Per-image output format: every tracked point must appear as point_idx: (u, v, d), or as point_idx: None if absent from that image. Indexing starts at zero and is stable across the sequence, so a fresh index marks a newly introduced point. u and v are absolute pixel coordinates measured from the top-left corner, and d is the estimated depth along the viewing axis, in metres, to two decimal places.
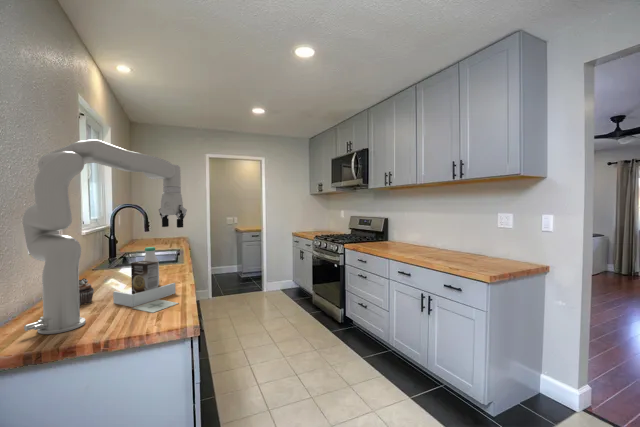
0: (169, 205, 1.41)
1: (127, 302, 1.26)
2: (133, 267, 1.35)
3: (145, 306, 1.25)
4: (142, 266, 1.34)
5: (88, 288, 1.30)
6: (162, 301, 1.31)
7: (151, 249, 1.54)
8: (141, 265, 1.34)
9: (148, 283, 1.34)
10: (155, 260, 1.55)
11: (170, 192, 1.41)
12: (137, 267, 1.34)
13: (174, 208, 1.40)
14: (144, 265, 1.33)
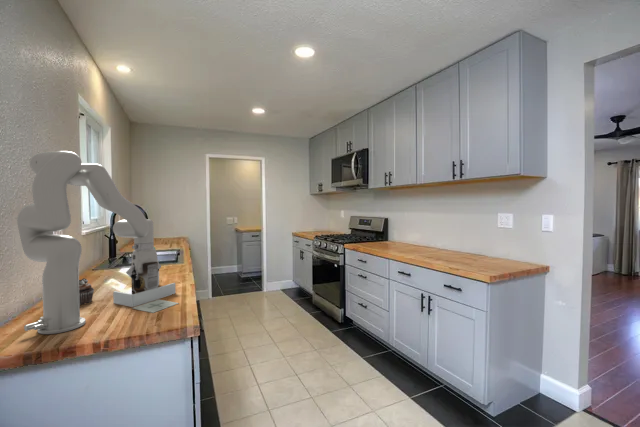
0: (151, 261, 1.37)
1: (127, 302, 1.26)
2: None
3: (145, 306, 1.25)
4: None
5: (88, 288, 1.30)
6: (162, 301, 1.31)
7: None
8: None
9: (148, 283, 1.34)
10: None
11: (153, 248, 1.38)
12: None
13: None
14: (144, 265, 1.33)
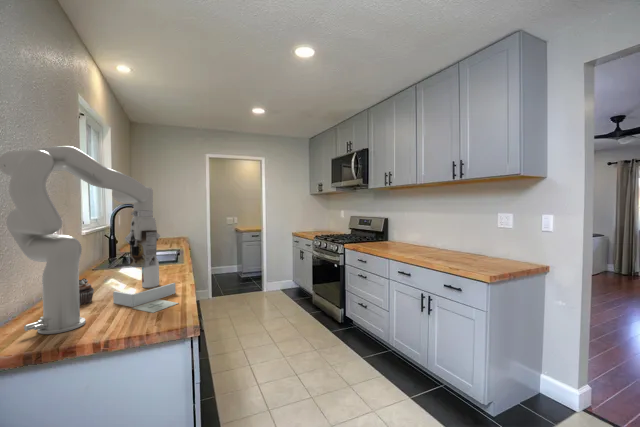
0: (150, 229, 1.37)
1: (127, 302, 1.26)
2: None
3: (145, 306, 1.25)
4: None
5: (88, 288, 1.30)
6: (162, 301, 1.31)
7: None
8: None
9: (146, 250, 1.33)
10: None
11: (152, 216, 1.37)
12: None
13: None
14: (143, 232, 1.33)
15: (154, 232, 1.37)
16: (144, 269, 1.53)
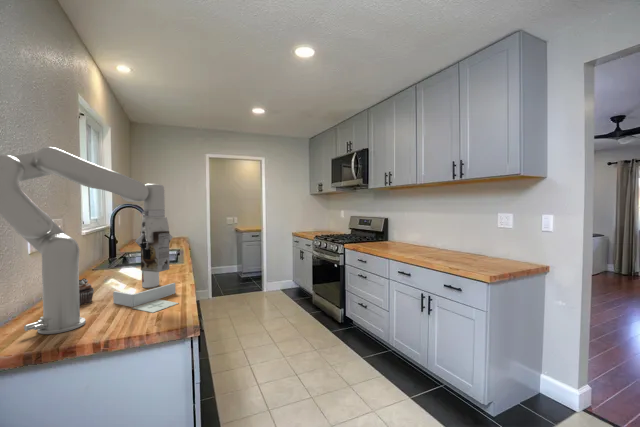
0: (162, 230, 1.25)
1: (127, 302, 1.26)
2: None
3: (145, 306, 1.25)
4: None
5: (88, 288, 1.30)
6: (162, 301, 1.31)
7: None
8: None
9: (159, 253, 1.22)
10: None
11: (164, 216, 1.26)
12: None
13: None
14: (155, 233, 1.21)
15: (167, 233, 1.25)
16: None
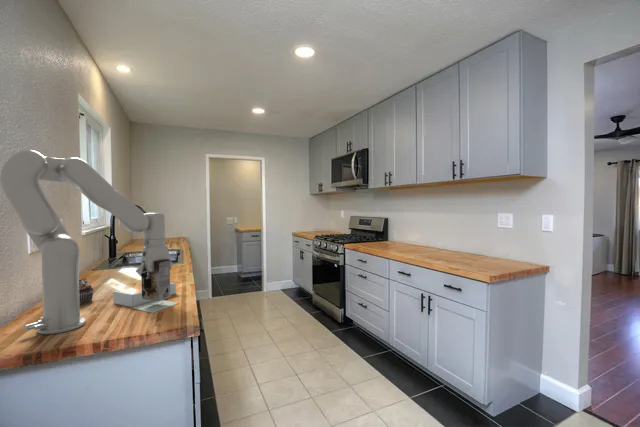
0: (163, 259, 1.26)
1: (127, 302, 1.26)
2: None
3: (145, 306, 1.25)
4: None
5: (88, 288, 1.30)
6: (162, 301, 1.31)
7: None
8: None
9: (160, 282, 1.22)
10: None
11: None
12: None
13: None
14: (155, 263, 1.22)
15: (167, 261, 1.26)
16: None
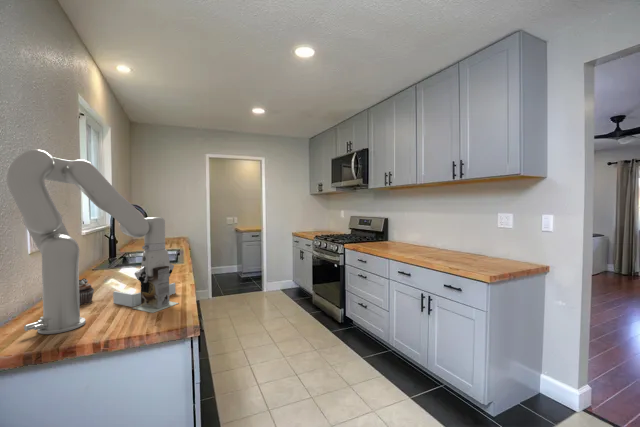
0: (163, 263, 1.26)
1: (127, 302, 1.26)
2: None
3: None
4: None
5: (88, 288, 1.30)
6: None
7: None
8: None
9: (159, 290, 1.22)
10: None
11: None
12: None
13: (169, 265, 1.28)
14: (154, 270, 1.21)
15: (166, 268, 1.25)
16: None
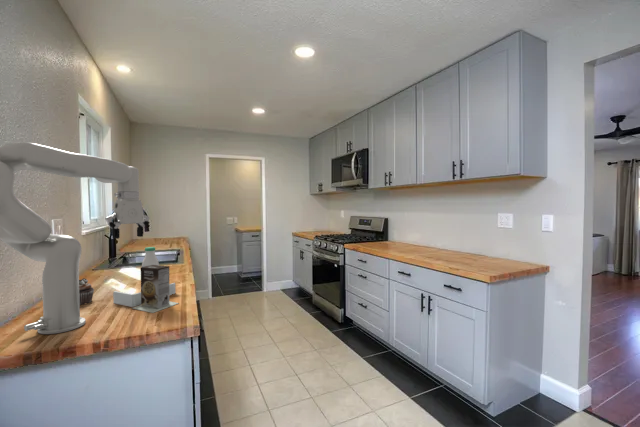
0: (136, 212, 1.27)
1: (127, 302, 1.26)
2: (142, 272, 1.23)
3: None
4: (152, 271, 1.22)
5: (88, 288, 1.30)
6: None
7: (151, 249, 1.54)
8: (151, 270, 1.22)
9: (159, 290, 1.22)
10: (155, 260, 1.55)
11: (138, 198, 1.28)
12: (147, 272, 1.23)
13: (142, 216, 1.30)
14: (155, 270, 1.21)
15: (166, 269, 1.26)
16: None
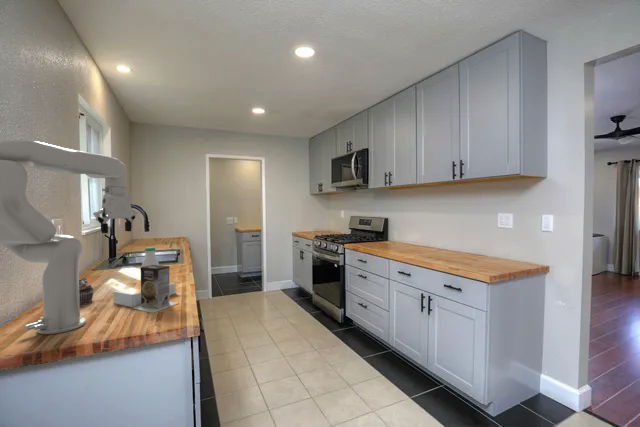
0: (124, 207, 1.29)
1: (127, 302, 1.26)
2: (142, 272, 1.23)
3: None
4: (152, 271, 1.22)
5: (88, 288, 1.30)
6: None
7: (151, 249, 1.54)
8: (151, 270, 1.22)
9: (159, 290, 1.22)
10: (155, 260, 1.55)
11: (126, 193, 1.29)
12: (147, 272, 1.23)
13: (130, 210, 1.31)
14: (155, 270, 1.21)
15: (166, 269, 1.26)
16: None
